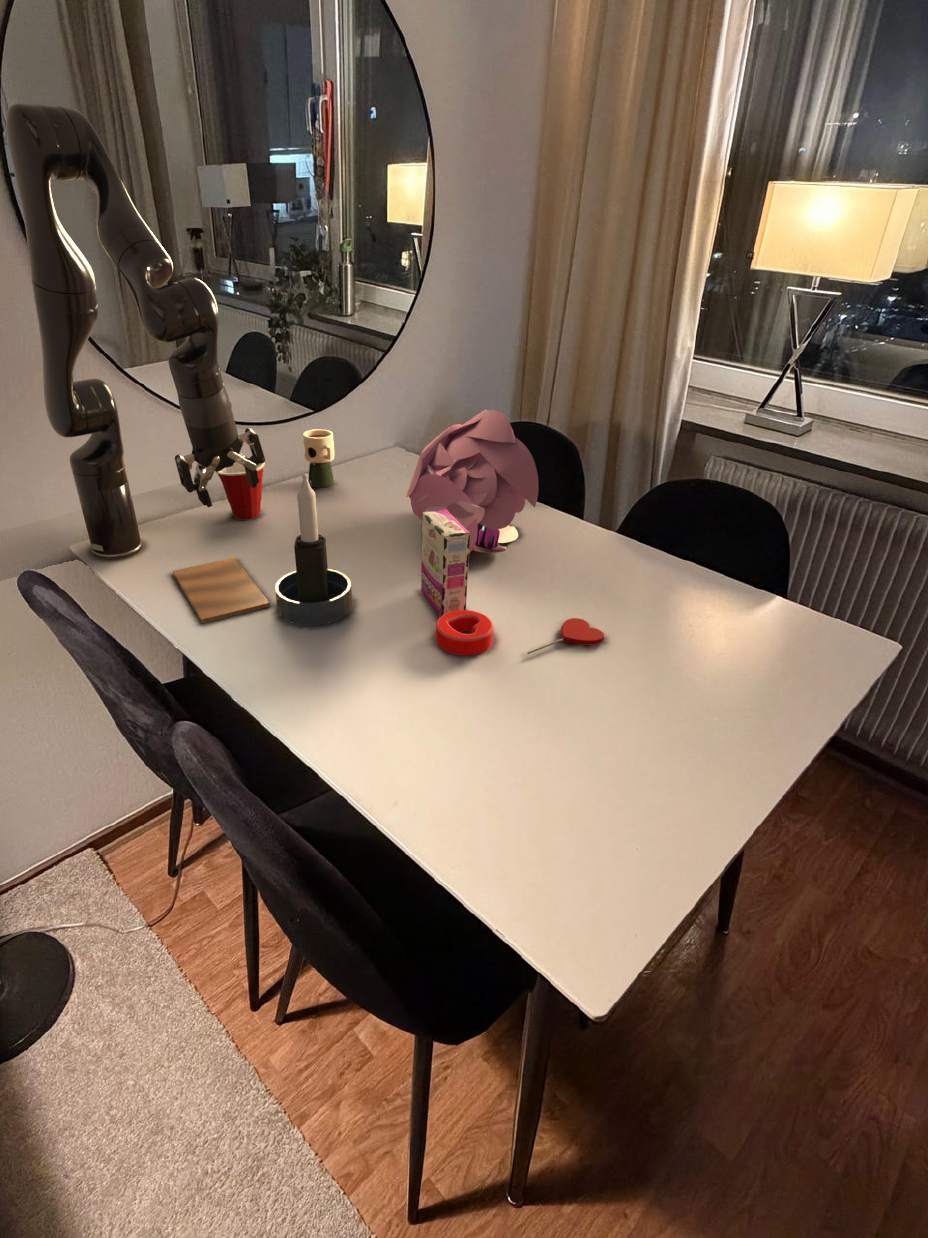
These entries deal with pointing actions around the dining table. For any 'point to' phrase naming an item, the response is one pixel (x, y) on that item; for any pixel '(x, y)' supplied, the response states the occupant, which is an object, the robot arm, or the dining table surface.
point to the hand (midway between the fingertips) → (230, 495)
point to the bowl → (317, 610)
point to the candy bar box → (444, 561)
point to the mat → (220, 590)
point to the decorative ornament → (464, 643)
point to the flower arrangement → (477, 479)
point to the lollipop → (577, 633)
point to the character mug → (319, 456)
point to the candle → (310, 550)
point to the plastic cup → (242, 491)
